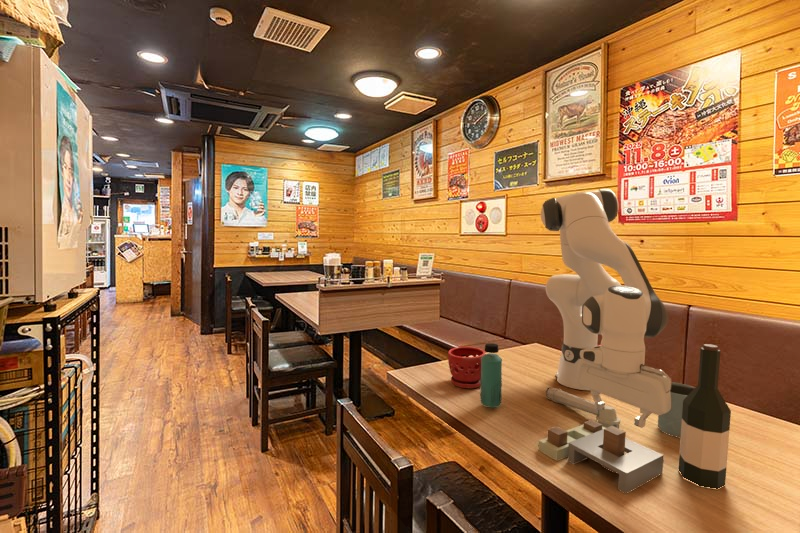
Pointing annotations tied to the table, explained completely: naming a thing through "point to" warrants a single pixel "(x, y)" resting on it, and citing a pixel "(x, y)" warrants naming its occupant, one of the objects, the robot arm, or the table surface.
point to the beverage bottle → (491, 377)
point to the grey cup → (674, 410)
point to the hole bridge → (619, 460)
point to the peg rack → (563, 450)
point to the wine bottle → (705, 426)
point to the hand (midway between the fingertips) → (618, 417)
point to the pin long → (614, 441)
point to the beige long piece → (584, 406)
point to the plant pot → (465, 366)
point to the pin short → (592, 426)
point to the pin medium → (557, 436)
